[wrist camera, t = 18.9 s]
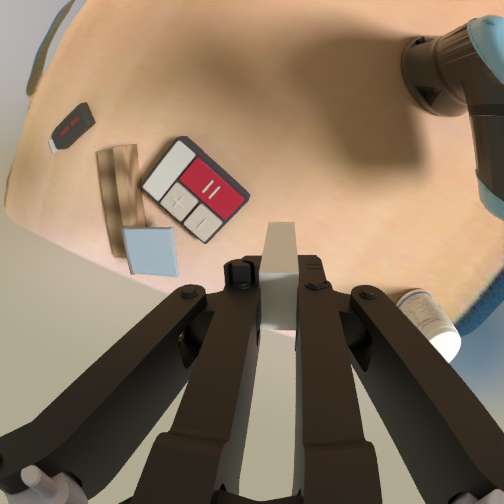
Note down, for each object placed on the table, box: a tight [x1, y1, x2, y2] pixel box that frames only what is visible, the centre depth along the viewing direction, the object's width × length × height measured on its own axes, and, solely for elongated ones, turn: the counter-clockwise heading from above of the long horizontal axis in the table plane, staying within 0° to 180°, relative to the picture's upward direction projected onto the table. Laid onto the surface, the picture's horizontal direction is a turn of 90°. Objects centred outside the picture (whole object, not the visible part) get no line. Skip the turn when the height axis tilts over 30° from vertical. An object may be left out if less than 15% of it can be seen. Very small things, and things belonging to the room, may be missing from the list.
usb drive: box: [48, 103, 96, 154], centre depth 43 cm, size 5×12×3 cm, turn 116°
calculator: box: [141, 136, 250, 244], centre depth 45 cm, size 11×4×15 cm
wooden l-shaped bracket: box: [97, 144, 147, 258], centre depth 46 cm, size 21×8×6 cm, turn 2°
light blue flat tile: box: [121, 226, 180, 277], centre depth 44 cm, size 8×10×1 cm
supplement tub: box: [396, 289, 461, 363], centre depth 44 cm, size 10×10×15 cm
